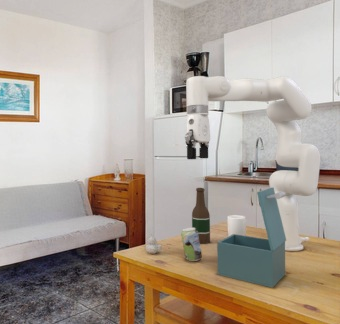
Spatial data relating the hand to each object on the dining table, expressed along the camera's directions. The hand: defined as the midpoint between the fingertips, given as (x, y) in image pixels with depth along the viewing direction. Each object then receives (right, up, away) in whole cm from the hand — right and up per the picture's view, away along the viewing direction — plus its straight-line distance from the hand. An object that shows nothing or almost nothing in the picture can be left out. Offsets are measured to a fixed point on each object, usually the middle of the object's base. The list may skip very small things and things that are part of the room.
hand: (197, 158), depth 123 cm
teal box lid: (+17, -18, -17) cm, 31 cm away
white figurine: (-14, -38, +13) cm, 43 cm away
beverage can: (-1, -38, +4) cm, 38 cm away
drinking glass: (+18, -37, +8) cm, 42 cm away
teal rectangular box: (+14, -38, -12) cm, 42 cm away
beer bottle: (+10, -37, +28) cm, 47 cm away
